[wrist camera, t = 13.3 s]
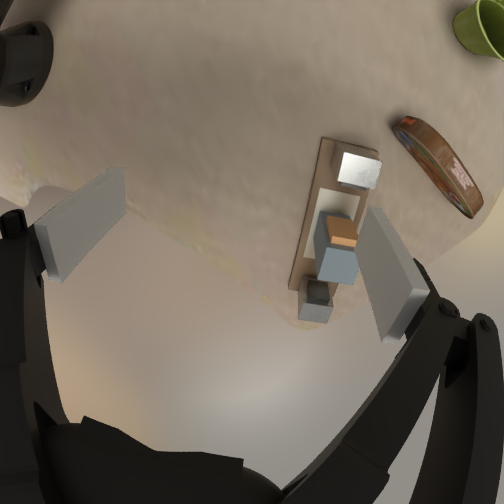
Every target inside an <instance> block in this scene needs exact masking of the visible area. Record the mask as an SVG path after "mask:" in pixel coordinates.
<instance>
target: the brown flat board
mask: <svg viewBox="0 0 504 504" xmlns="http://www.w3.org/2000/svg"><path fill="white" fill-rule="evenodd" d="M335 142H340V143H344V144H348V145H352V146H356V147H360V148H364V149H368V150H369V151H370V152H371V153H372V154H373V155H375V156H376V157H377V158H378V155H379V152H378V151H376V150H373V149H369V148H365V147H362V146H358V145H354V144H350V143H346V142H341V141H337V140H333V139H328V138H324V137H322V139H321V144H320V149H319V154H318V158H317V163H316V168H315V173H314V178H313V182H312V187H311V191H310V196H309V200H308V205H307V209H306V214H305V218H304V222H303V227H302V231H301V235H300V239H299V244H298V248H297V252H296V256H295V260H294V264H293V268H292V272H291V276H290V280H289V284H288V289H289V290H295V291H298V290H299V286H300V283H301V279H302V276H303V275H307V276H313V277H317V270H316V260H315V251H314V242H313V236H314V232H315V228H316V224H317V220H318V215H319V211H325V212H331V213H336V214H341V215H346V216H350V218H351V220H352V221H353V224H354V226H355V229H356V231H357V228H358V225H359V222H360V219H361V216H362V212H363V209H364V206H365V202H366V199H367V196H368V192H369V189H370V188H367V189H366V191H363V190H359V189H355V188H351V187H346V186H342V185H340V182H339V181H337V178H336V176H335V174H334V172H333V170H332V168H331V166H330V164H331V160H332V155H333V150H334V146H335ZM330 285H331V292H332V296H333V297H334V294H335V291H336V289H337V286H338V283H336V282H330Z"/></svg>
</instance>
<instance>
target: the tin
mask: <svg viewBox="0 0 504 504" xmlns="http://www.w3.org/2000/svg"><path fill="white" fill-rule="evenodd" d="M393 130H394V133H395V135H396V137H397V138H398V140H399V141H400V142H401V144H402V145H403V146H404V147H405V148H406V149H407V151H408V152H409V153H410V154H411V155H412V156H413V158H414V159H415V160H416V161H417V162H418V163H419V165H420V166H421V167H422V168H423V170H424V171H425V172H426V173H427V175H428V176H429V177H430V178H431V180H432V181H433V182H434V183H435V185H436V186H437V187H438V189H439V190H440V191H441V192H442V193H443V194H444V196H445V197H446V198H447V199H448V200H449V201H450V202H451V203H452V204H453V205H454V206H455V207H456V208H457V209H458V210H459V211H460V212H461V213H462V214H464V215H465V216H466V217H468V218H469V219H473V218H474V216H475V215H476V213H477V212H478V211H479V210H480V209H481V207H482V206H483V197H482V195H481V193H480V191H479V189H478V187H477V186H476V184H475V182H474V181H473V179H472V177H471V176H470V174H469V173H468V171H467V170H466V168H465V167H464V165H463V164H462V162H461V161H460V159H459V158H458V156H457V155H456V154H455V152H454V151H453V149H452V148H451V147H450V145H449V144H448V143H447V142H446V140H445V139H444V138H443V137H442V136H441V135H440V134H439V133H438V132H437V131H436V130H435V129H434V128H432V127H431V126H430V125H429V124H427V123H426V122H424V121H423V120H421V119H419V118H415V117H411V116H406V117H405V118H404V119H403V120H402V121H401V122H400V123H399V124H398V125H397V126H396V127H394V129H393Z"/></svg>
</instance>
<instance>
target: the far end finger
mask: <svg viewBox="0 0 504 504" xmlns="http://www.w3.org/2000/svg"><path fill="white" fill-rule="evenodd" d="M333 308H334V307H333V300H332V292H331V285H330V281H323V280H317V277H313V276H307V275H303V276H302V279H301V283H300V286H299V290H298V320H305V321H312V322H319V323H326V324H327V322H328V320H329V317H330V315H331V312H332V310H333Z"/></svg>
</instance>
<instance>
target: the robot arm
mask: <svg viewBox="0 0 504 504" xmlns="http://www.w3.org/2000/svg"><path fill="white" fill-rule="evenodd" d="M13 1H14V0H0V26H1V24H2V22H3V20H4V18H5V16H6V14H7V12H8V10H9V8H10V6H11V5H12V3H13ZM52 56H53V41H52V36H51V33H50V30H49V29H48V27H47V26H46V25H45V24H44V23H41V22H35V21H27V22H23V23H20V24H17V25H15V26H12V27H10V28H7V29H5V30H2V31H0V106H7V107H15V106H19V105H23V104H26V103H28V102H30V101H31V100H32V99H33V98H34V97H35V96H36V95H37V94H38V93H39V91H40V90H41V88H42V87H43V85H44V83H45V81H46V78H47V76H48V73H49V70H50V66H51V62H52ZM125 213H126V202H125V184H124V168H121V167H111V168H110V169H108V170H107V171H105V172H104V173H102V174H100V175H99V176H97V177H96V178H94V179H93V180H91V181H90V182H88V183H87V184H86V185H84V186H83V187H81V188H80V189H78V190H77V191H76V192H74V193H73V194H72V195H70V196H69V197H67V198H66V199H65V200H63V201H62V202H60V203H59V204H58V205H57V206H55V207H53V208H52V209H51V210H49V211H48V212H47V213H46V214H44V215H43V216H42V217H41V218H39V219H38V220H37V221H36V222H35V223H33V224H32V225H31V226H30V227H29V228H28V227H27V223H26V218H25V214H24V211H23V210H22V209H15V210H11V211H8V212H6V213H5V214H3V215H2V216H1V217H0V231H1V234H2V239H0V504H373V502H374V501H375V500H376V498H377V497H378V496H379V494H380V493H381V492H382V490H383V489H384V487H385V486H386V484H387V482H388V480H389V477H390V475H389V474H388V469H389V467H390V465H391V464H392V462H393V461H394V459H395V458H396V456H397V455H398V453H399V451H400V450H401V448H402V446H403V445H404V443H405V441H406V440H407V438H408V436H409V435H410V433H411V431H412V429H413V427H414V426H415V424H416V422H417V420H418V418H419V416H420V414H421V412H422V410H423V408H424V406H425V404H426V402H427V400H428V398H429V396H430V394H431V392H432V390H433V387H434V385H435V383H436V381H437V378H438V376H439V374H440V378H439V386H438V393H437V399H436V405H435V411H434V416H433V421H432V426H431V431H430V435H429V439H428V443H427V448H426V451H425V455H424V459H423V462H422V466H421V469H420V473H419V476H418V479H417V482H416V485H415V488H414V491H413V494H412V497H411V499H410V502H409V504H495V502H496V497H497V491H498V486H499V480H500V473H501V464H502V455H503V443H504V380H503V367H502V358H501V349H500V342H499V336H498V329H497V327H496V325H495V323H494V321H493V320H492V319H491V318H490V317H489V316H487V315H485V314H482V313H477V314H476V315H475V316H474V318H473V319H472V321H469V320H466V319H464V318H461V317H460V313H459V310H458V309H457V307H456V306H455V305H454V304H453V303H452V302H451V301H449V300H447V299H445V298H441V297H440V296H439V294H438V292H437V290H436V288H435V286H434V285H433V283H432V281H430V280H431V279H430V278H429V276H428V275H427V272H426V270H425V269H424V267H423V266H422V265H421V264H420V263H419V262H418V261H417V260H416V259H415V258H412V257H411V255H410V253H409V252H408V250H407V248H406V247H405V245H404V243H403V242H402V240H401V238H400V237H399V235H398V233H397V232H396V230H395V229H394V227H393V225H392V224H391V222H390V221H389V219H388V218H387V216H386V215H385V213H384V211H383V210H382V209H381V208H376V207H372V206H369V207H368V210H367V213H366V216H365V219H364V222H363V225H362V228H361V231H360V234H359V236H358V239H357V242H356V245H355V248H354V252H355V255H356V258H357V261H358V264H359V267H360V270H361V273H362V277H363V280H364V283H365V286H366V289H367V293H368V296H369V299H370V302H371V306H372V309H373V313H374V316H375V320H376V323H377V327H378V331H379V335H380V338H381V342H387V343H398V342H399V340H400V339H401V337H402V336H403V334H404V333H405V335H406V338H407V341H406V343H405V344H404V346H403V347H402V349H401V350H400V351H399V353H398V354H397V355H396V357H395V360H394V361H393V363H392V364H391V366H390V367H389V369H388V370H387V371H386V373H385V375H384V376H383V377H382V379H381V380H380V381H379V383H378V384H377V386H376V387H375V388H374V390H373V391H372V392H371V394H370V395H369V396H368V398H367V399H366V401H365V402H364V403H363V404H362V406H361V407H360V408H359V409H358V411H357V412H356V413H355V415H354V416H353V417H352V418H351V419H350V421H349V422H348V423H347V424H346V425H345V427H344V428H343V429H342V430H341V431H340V432H339V434H338V435H337V436H336V437H335V438H334V439H333V440H332V441H331V443H330V444H329V445H328V446H327V447H326V448H325V449H324V450H323V451H322V452H321V453H320V454H319V455H318V456H317V458H316V459H315V460H314V461H313V462H312V463H311V464H310V465H309V466H308V467H307V468H306V469H304V470H303V471H302V472H301V473H300V474H299V475H298V476H297V477H296V478H295V479H293V480H292V481H291V482H290V483H289V484H288V485H286V486H285V487H284V488H283V489H282V490H280V489H279V488H278V487H277V486H276V485H275V484H274V483H273V482H271V481H270V480H269V479H267V478H266V477H264V476H262V475H261V474H259V473H257V472H255V471H253V470H251V469H248V468H245V467H243V461H244V459H241V458H234V457H228V456H222V455H216V454H210V453H205V452H163V451H155V450H153V449H151V448H149V447H147V446H145V445H144V444H142V443H140V442H139V441H137V440H135V439H134V438H132V437H130V436H129V435H127V434H126V433H124V432H122V431H121V430H119V429H117V428H115V427H111V426H109V425H107V424H104V423H101V422H98V421H96V420H94V419H91V418H89V417H87V416H84V417H83V419H82V422H81V423H70V422H69V420H68V419H67V417H66V415H65V413H64V410H63V407H62V403H61V400H60V395H59V391H58V387H57V382H56V378H55V373H54V368H53V362H52V357H51V351H50V344H49V337H48V330H47V321H46V311H45V299H44V281H43V278H42V275H41V273H42V272H43V271H44V270H45V269H46V270H47V273H48V277H49V279H50V280H52V281H55V282H59V283H63V282H64V280H65V279H66V278H67V277H68V275H69V274H70V273H71V272H72V271H73V270H74V268H75V267H76V266H77V265H78V264H79V263H80V262H81V260H82V259H83V258H84V257H85V256H86V255H87V254H88V252H89V251H90V250H91V249H92V248H93V247H94V246H95V245H96V244H97V243H98V241H99V240H100V239H101V238H102V237H103V236H104V235H105V234H106V233H107V232H108V231H109V230H110V229H111V228H112V227H113V226H114V225H115V224H116V223H117V221H118V220H119V219H120V218H121V217H122V216H123V215H124V214H125Z"/></svg>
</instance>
